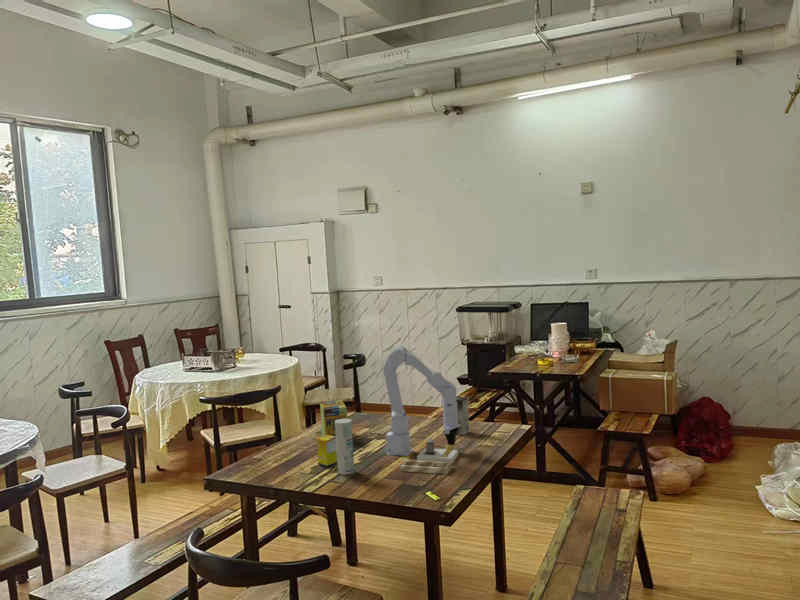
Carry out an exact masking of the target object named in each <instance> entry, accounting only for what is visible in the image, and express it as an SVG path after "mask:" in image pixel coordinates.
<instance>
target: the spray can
mask: <svg viewBox="0 0 800 600" xmlns="http://www.w3.org/2000/svg"><path fill="white" fill-rule="evenodd" d="M335 434H336V448H337V462H338V464H337V472H338V474H339V475H343V476H347V475H346V474H348V475H351V473H352V474H353V473H354V472H355V459H354V456H355V455H354V441H353V440H354V437H353V422H352V419H351V418H347V419H338V420H336V421H335Z"/></svg>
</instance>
